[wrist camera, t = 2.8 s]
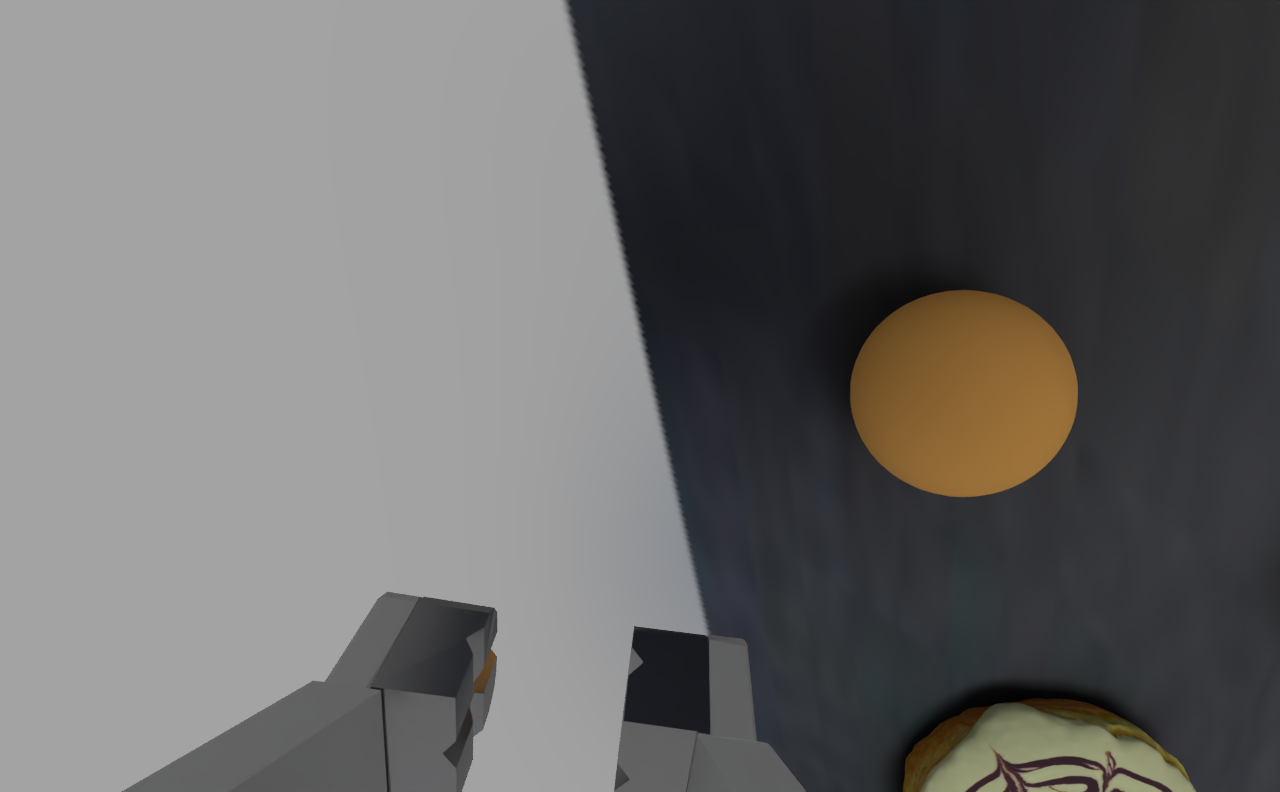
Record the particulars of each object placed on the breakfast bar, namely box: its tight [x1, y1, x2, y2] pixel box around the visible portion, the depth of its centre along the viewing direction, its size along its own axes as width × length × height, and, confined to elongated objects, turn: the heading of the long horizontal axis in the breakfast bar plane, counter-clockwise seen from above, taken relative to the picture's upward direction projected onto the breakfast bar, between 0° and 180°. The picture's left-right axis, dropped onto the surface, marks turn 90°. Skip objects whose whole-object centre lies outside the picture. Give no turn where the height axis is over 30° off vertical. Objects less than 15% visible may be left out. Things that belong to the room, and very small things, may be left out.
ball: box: [850, 290, 1078, 497], centre depth 20 cm, size 6×6×6 cm
